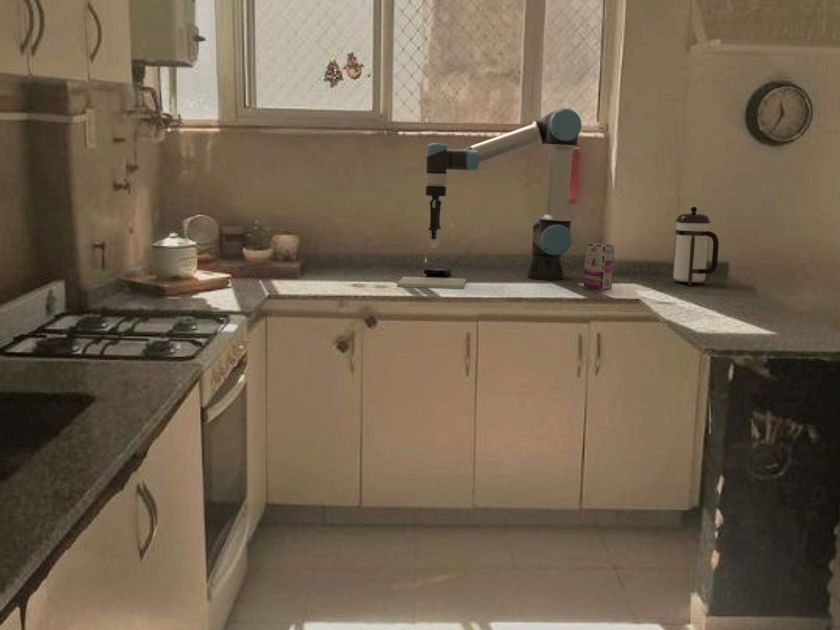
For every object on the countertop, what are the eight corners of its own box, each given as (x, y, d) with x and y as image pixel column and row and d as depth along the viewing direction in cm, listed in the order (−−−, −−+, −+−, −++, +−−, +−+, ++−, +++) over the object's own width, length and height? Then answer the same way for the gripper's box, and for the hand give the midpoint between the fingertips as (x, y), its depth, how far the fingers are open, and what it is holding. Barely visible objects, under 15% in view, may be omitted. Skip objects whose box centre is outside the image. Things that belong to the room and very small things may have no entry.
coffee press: (668, 285, 351) (673, 206, 346) (669, 280, 366) (674, 205, 361) (715, 288, 346) (721, 208, 341) (715, 283, 361) (720, 206, 356)
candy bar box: (612, 290, 335) (615, 245, 332) (601, 290, 332) (604, 245, 330) (593, 286, 344) (595, 242, 342) (582, 286, 342) (584, 242, 339)
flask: (423, 268, 358) (431, 267, 368) (423, 276, 359) (431, 274, 369) (446, 270, 355) (453, 268, 366) (445, 277, 356) (453, 276, 366)
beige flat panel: (465, 281, 348) (465, 278, 348) (463, 288, 329) (463, 285, 329) (403, 279, 350) (403, 276, 350) (397, 286, 331) (397, 283, 331)
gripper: (428, 184, 352) (426, 244, 356) (423, 185, 333) (421, 248, 337) (448, 185, 351) (446, 245, 355) (443, 186, 333) (442, 249, 336)
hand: (434, 246), depth 346 cm, fingers open, 6 cm apart
